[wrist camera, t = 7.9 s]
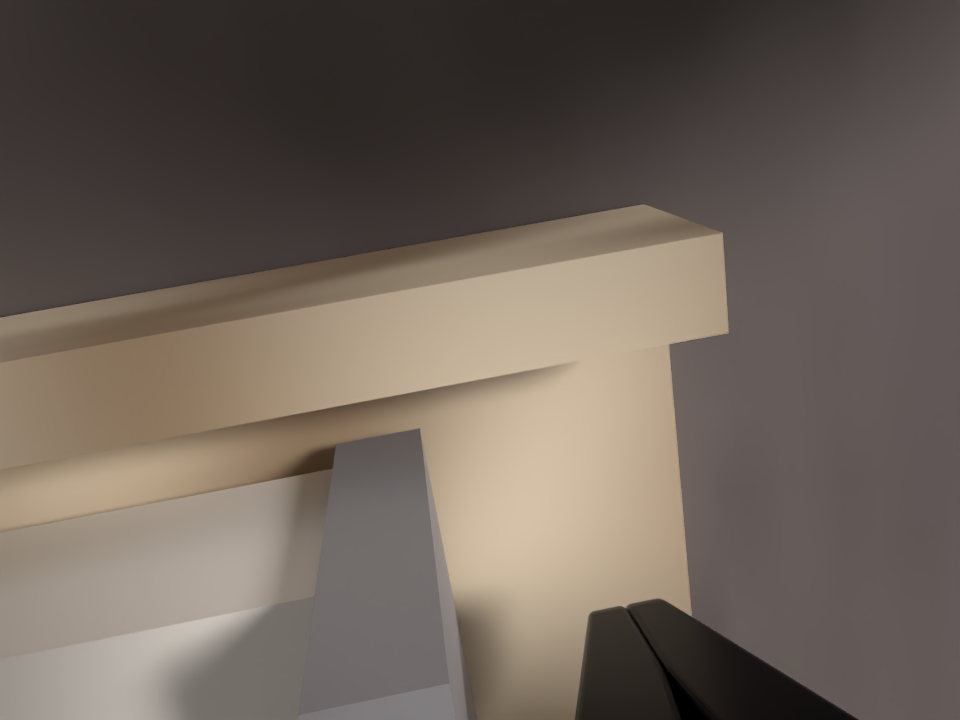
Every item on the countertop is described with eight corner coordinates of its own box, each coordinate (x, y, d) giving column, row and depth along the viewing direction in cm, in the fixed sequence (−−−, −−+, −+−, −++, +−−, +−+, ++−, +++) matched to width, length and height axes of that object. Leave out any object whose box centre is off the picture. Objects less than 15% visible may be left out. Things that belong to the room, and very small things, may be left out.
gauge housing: (644, 204, 10) (722, 233, 8) (693, 749, 12) (761, 891, 10) (-193, 351, 9) (-383, 432, 7) (48, 891, 12) (-31, 1076, 10)
